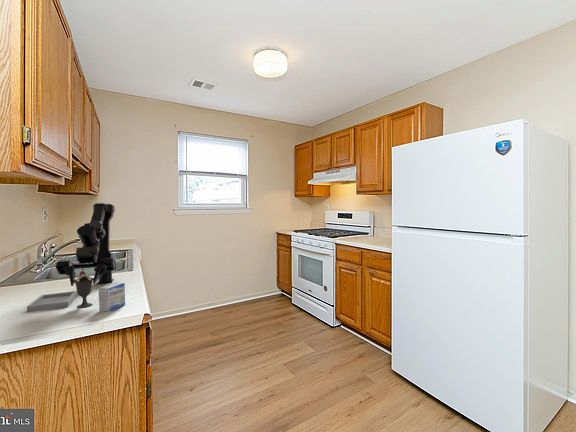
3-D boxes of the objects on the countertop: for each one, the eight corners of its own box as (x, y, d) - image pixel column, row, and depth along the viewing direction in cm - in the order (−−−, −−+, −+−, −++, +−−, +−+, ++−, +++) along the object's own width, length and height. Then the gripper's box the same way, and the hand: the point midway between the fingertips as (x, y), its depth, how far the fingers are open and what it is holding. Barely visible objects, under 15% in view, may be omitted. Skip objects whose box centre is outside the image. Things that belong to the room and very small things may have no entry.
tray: (41, 299, 117) (41, 294, 117) (77, 295, 122) (77, 290, 122) (27, 311, 103) (26, 306, 103) (68, 306, 108) (67, 301, 108)
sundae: (82, 302, 113) (81, 265, 112) (99, 303, 112) (98, 265, 112) (69, 308, 106) (67, 269, 105) (86, 309, 106) (85, 269, 105)
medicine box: (109, 312, 103) (108, 288, 102) (98, 311, 104) (98, 287, 103) (125, 304, 111) (125, 282, 110) (115, 304, 111) (115, 282, 111)
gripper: (56, 240, 108) (45, 275, 99) (113, 238, 115) (108, 270, 106) (64, 257, 116) (54, 291, 106) (117, 254, 123) (112, 286, 113)
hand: (82, 284), depth 108 cm, fingers closed on sundae, 6 cm apart
